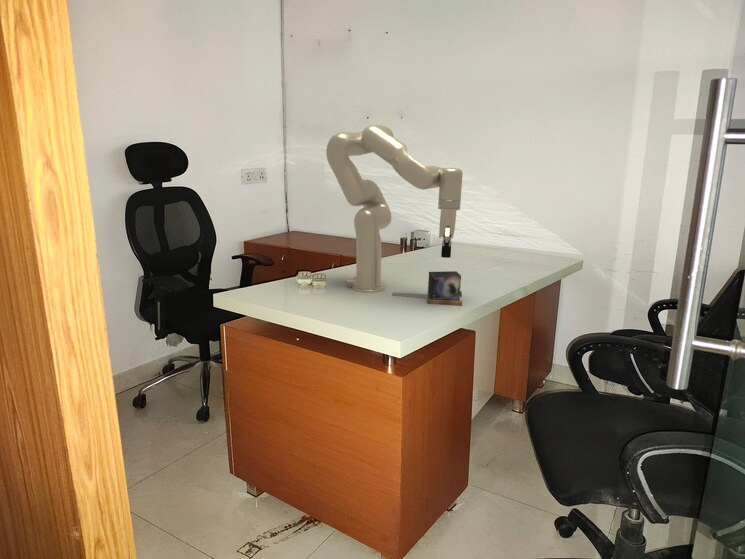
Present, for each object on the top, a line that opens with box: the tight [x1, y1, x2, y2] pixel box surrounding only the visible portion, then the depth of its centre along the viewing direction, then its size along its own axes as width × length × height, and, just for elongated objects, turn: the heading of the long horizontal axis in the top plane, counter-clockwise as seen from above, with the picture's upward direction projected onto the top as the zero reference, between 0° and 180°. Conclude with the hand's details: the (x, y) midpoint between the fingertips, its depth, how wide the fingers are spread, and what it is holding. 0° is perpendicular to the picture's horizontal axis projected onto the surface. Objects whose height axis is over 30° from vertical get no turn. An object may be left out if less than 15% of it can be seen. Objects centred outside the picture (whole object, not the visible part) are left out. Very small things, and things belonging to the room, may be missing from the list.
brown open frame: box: [426, 290, 463, 307], centre depth 187 cm, size 12×14×2 cm
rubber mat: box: [391, 292, 428, 300], centre depth 189 cm, size 13×11×1 cm
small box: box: [427, 270, 462, 301], centre depth 185 cm, size 11×6×10 cm, turn 97°
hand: (446, 254), depth 183 cm, fingers open, 7 cm apart
